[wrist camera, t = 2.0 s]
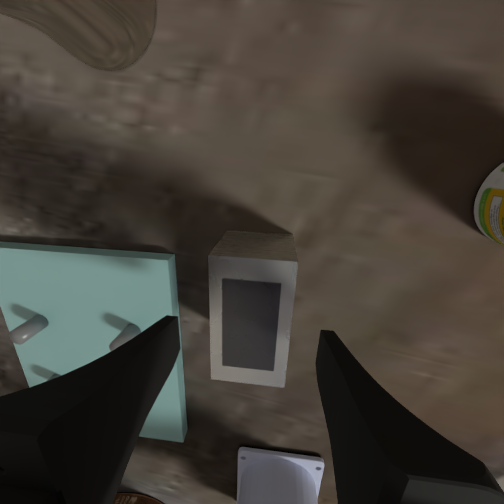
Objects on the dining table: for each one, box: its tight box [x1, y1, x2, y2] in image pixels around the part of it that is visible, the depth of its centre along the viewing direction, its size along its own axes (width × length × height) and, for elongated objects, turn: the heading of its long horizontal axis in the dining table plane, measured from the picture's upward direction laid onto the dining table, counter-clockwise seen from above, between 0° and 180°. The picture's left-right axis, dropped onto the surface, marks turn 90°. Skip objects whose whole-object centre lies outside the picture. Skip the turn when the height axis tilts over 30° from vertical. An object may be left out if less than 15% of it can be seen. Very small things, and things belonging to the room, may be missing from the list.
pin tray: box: [0, 241, 188, 443], centre depth 20 cm, size 18×14×3 cm
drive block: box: [208, 230, 298, 388], centre depth 16 cm, size 8×4×5 cm, turn 178°
